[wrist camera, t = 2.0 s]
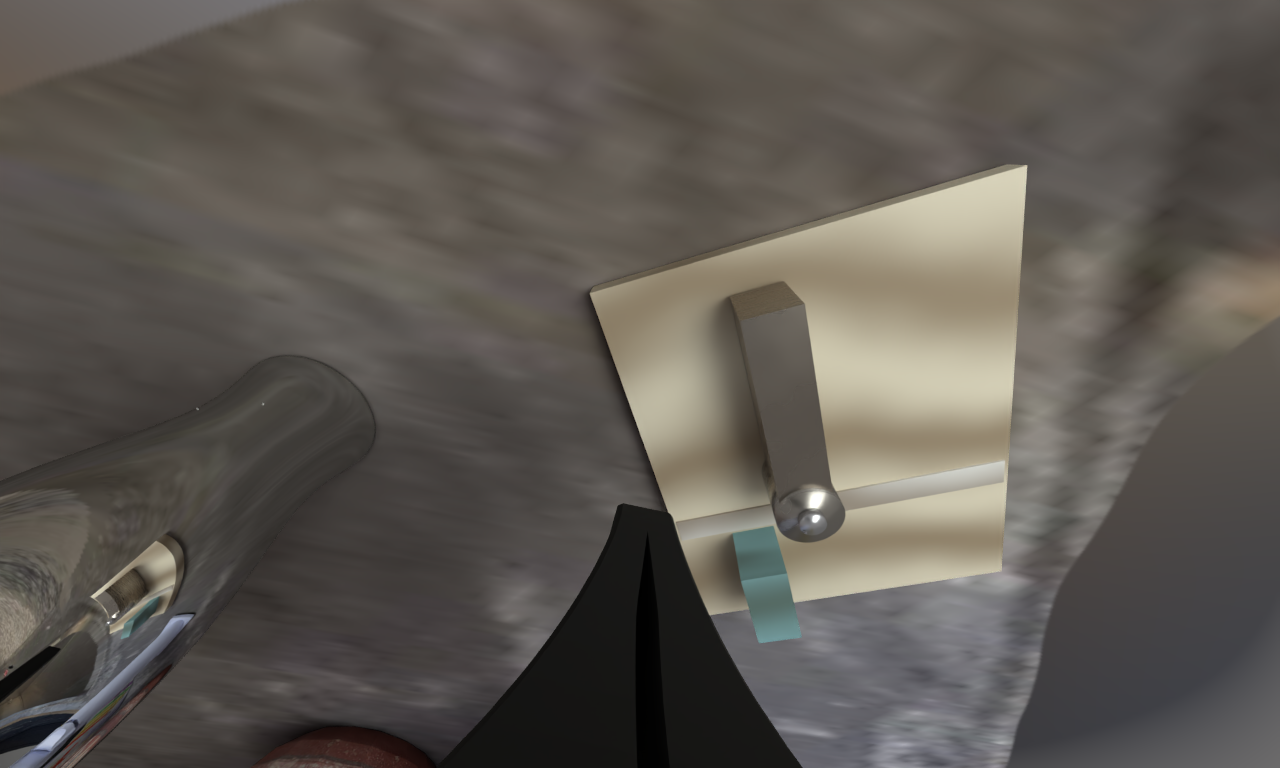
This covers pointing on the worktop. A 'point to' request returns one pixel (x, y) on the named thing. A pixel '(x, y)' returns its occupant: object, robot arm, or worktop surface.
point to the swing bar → (787, 411)
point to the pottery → (345, 751)
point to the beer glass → (152, 548)
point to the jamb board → (838, 395)
